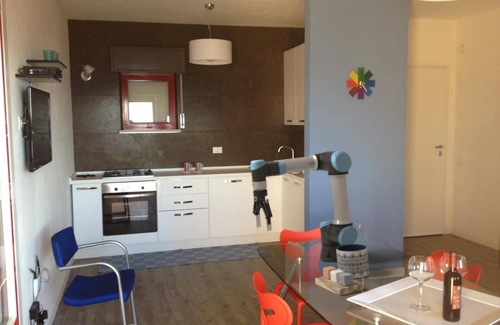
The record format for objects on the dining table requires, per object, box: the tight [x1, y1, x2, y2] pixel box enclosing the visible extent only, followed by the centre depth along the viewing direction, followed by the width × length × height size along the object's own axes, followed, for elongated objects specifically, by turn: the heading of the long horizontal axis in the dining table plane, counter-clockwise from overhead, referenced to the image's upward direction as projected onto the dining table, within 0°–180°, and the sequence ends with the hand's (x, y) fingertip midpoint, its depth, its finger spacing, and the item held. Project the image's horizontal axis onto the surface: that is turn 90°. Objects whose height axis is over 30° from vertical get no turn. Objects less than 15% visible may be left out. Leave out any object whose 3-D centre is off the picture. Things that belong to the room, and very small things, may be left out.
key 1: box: [322, 265, 338, 280], centre depth 238 cm, size 5×5×5 cm
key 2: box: [338, 272, 354, 287], centre depth 225 cm, size 5×5×5 cm
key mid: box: [330, 268, 345, 283], centre depth 231 cm, size 5×5×5 cm
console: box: [314, 276, 364, 296], centre depth 231 cm, size 13×22×3 cm, turn 23°
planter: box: [336, 243, 370, 280], centre depth 249 cm, size 16×16×14 cm
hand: (263, 228), depth 251 cm, fingers open, 13 cm apart
